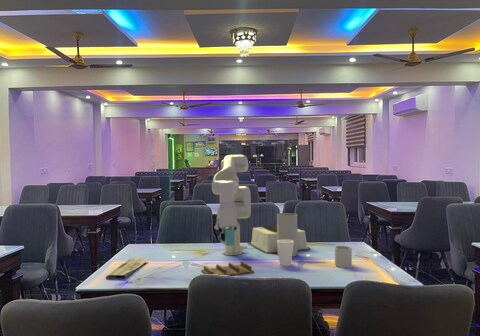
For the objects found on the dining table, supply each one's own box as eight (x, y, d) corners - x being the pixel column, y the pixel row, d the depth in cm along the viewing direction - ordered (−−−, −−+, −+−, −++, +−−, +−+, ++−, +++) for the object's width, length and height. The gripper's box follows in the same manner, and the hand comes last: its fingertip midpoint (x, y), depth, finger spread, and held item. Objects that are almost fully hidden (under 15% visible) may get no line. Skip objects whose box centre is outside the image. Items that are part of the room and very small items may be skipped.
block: (227, 241, 199) (227, 226, 199) (234, 245, 191) (234, 229, 191) (220, 242, 198) (220, 227, 198) (227, 245, 189) (226, 230, 189)
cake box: (247, 244, 266) (246, 226, 266) (288, 240, 277) (288, 223, 277) (266, 254, 233) (266, 235, 233) (313, 250, 244) (312, 231, 244)
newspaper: (128, 262, 219) (128, 256, 219) (149, 262, 219) (149, 256, 219) (104, 280, 184) (104, 273, 184) (129, 280, 183) (129, 273, 183)
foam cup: (295, 262, 212) (295, 240, 212) (292, 267, 203) (291, 243, 203) (278, 261, 215) (278, 239, 215) (275, 265, 206) (274, 242, 206)
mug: (342, 268, 199) (342, 249, 199) (330, 264, 207) (330, 246, 207) (357, 265, 204) (357, 247, 204) (345, 262, 212) (345, 244, 212)
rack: (242, 266, 206) (242, 260, 206) (254, 272, 193) (254, 266, 193) (201, 271, 196) (201, 265, 196) (210, 278, 183) (210, 272, 183)
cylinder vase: (274, 256, 228) (274, 215, 228) (280, 251, 240) (280, 212, 240) (294, 257, 223) (294, 216, 223) (299, 253, 235) (299, 213, 235)
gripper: (238, 203, 201) (238, 237, 201) (209, 205, 194) (209, 240, 194) (244, 205, 194) (244, 240, 194) (214, 206, 187) (214, 243, 187)
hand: (227, 240), depth 194 cm, fingers closed on block, 4 cm apart
